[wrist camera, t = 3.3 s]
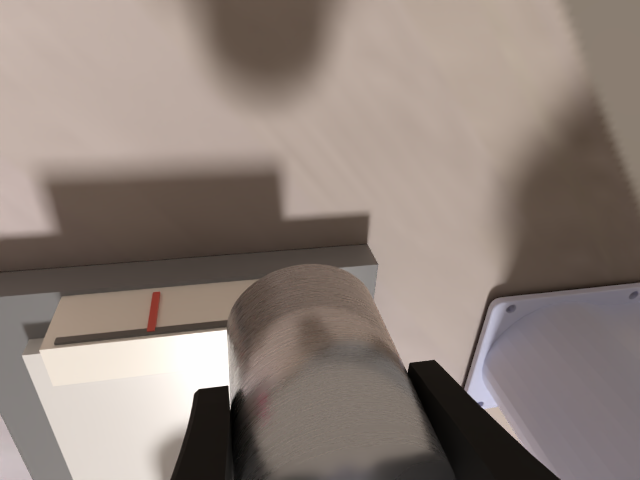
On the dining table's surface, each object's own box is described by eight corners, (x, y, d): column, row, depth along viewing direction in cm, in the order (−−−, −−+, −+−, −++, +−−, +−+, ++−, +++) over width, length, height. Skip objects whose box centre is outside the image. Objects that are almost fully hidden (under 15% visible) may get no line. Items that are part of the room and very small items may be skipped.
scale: (367, 244, 19) (400, 306, 16) (341, 478, 28) (359, 550, 25) (-36, 275, 17) (-98, 359, 13) (76, 525, 26) (56, 614, 22)
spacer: (382, 258, 12) (477, 428, 8) (366, 369, 14) (433, 549, 10) (222, 270, 11) (230, 466, 7) (230, 385, 13) (240, 589, 9)
